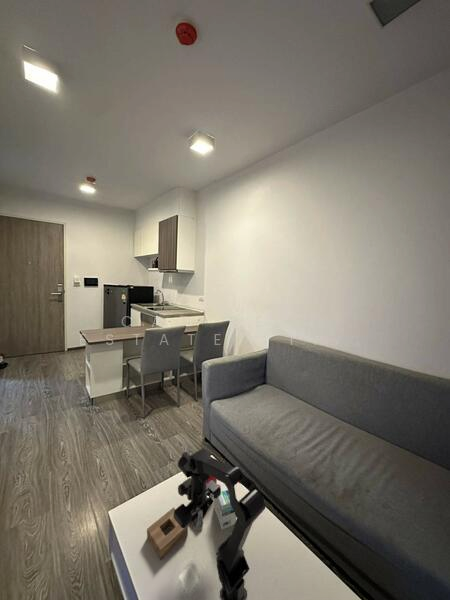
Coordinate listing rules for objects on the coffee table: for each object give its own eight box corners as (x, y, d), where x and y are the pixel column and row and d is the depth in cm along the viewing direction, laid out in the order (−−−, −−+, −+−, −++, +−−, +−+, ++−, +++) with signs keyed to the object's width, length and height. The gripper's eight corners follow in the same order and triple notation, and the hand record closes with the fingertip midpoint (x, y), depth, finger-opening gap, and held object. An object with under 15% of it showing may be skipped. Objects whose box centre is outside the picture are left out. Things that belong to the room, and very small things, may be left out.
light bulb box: (236, 524, 96) (237, 500, 95) (221, 530, 94) (221, 506, 93) (227, 501, 106) (227, 479, 105) (213, 506, 103) (213, 484, 102)
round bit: (204, 525, 88) (204, 508, 88) (197, 532, 86) (197, 515, 85) (198, 518, 91) (199, 502, 90) (191, 525, 88) (192, 508, 88)
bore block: (187, 534, 92) (187, 524, 92) (160, 559, 83) (160, 550, 83) (173, 515, 99) (173, 507, 99) (147, 537, 90) (147, 528, 90)
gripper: (203, 458, 99) (203, 492, 100) (165, 486, 86) (165, 524, 87) (222, 474, 91) (221, 510, 93) (182, 507, 78) (182, 548, 79)
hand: (198, 521), depth 88 cm, fingers closed on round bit, 3 cm apart
